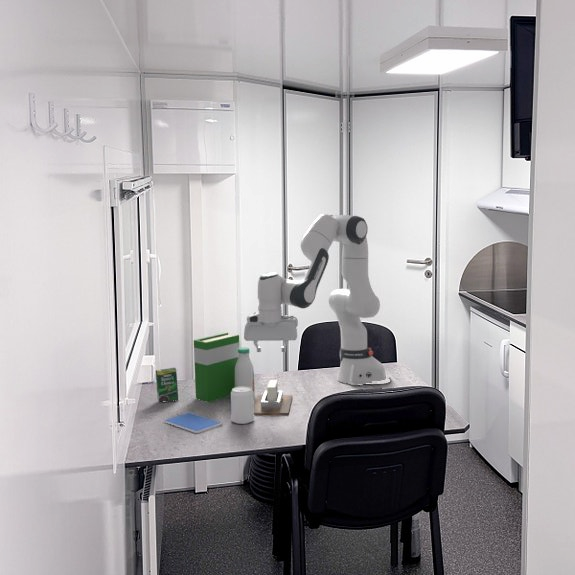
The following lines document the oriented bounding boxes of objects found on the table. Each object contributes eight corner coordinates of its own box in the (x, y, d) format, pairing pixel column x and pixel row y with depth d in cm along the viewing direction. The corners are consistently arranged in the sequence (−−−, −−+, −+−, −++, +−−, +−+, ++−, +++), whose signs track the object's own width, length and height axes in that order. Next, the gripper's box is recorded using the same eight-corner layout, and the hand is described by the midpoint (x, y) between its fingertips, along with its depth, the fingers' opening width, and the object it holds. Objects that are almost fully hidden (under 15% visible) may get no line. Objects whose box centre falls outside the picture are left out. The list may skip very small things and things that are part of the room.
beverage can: (228, 419, 273) (227, 387, 271) (249, 416, 276) (248, 384, 274) (236, 426, 266) (235, 393, 264) (257, 422, 269) (256, 390, 267)
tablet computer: (162, 423, 272) (161, 419, 271) (189, 414, 281) (189, 411, 280) (196, 435, 258) (196, 431, 258) (223, 426, 267) (223, 422, 267)
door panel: (278, 399, 293) (277, 379, 291) (275, 407, 283) (275, 387, 282) (269, 399, 293) (269, 379, 292) (267, 407, 283) (266, 387, 282)
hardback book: (228, 388, 311) (226, 332, 308) (240, 392, 306) (239, 334, 303) (195, 398, 299) (193, 340, 295) (208, 402, 294) (205, 342, 290)
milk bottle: (251, 400, 295) (250, 351, 292) (233, 399, 297) (231, 350, 294) (256, 394, 303) (255, 346, 300) (238, 393, 304) (236, 345, 301)
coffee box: (158, 403, 293) (156, 371, 291) (156, 401, 296) (155, 369, 294) (178, 401, 296) (177, 368, 294) (177, 399, 299) (175, 367, 297)
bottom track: (282, 397, 295) (282, 390, 294) (279, 409, 280) (279, 402, 280) (265, 397, 295) (264, 390, 295) (261, 409, 281) (260, 402, 280)
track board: (292, 397, 298) (292, 395, 298) (288, 415, 277) (288, 413, 276) (257, 397, 299) (257, 395, 299) (250, 414, 278) (250, 412, 278)
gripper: (298, 314, 285) (299, 349, 287) (244, 314, 286) (246, 349, 289) (297, 317, 279) (298, 353, 281) (242, 318, 280) (244, 353, 282)
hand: (271, 351), depth 285 cm, fingers open, 8 cm apart
